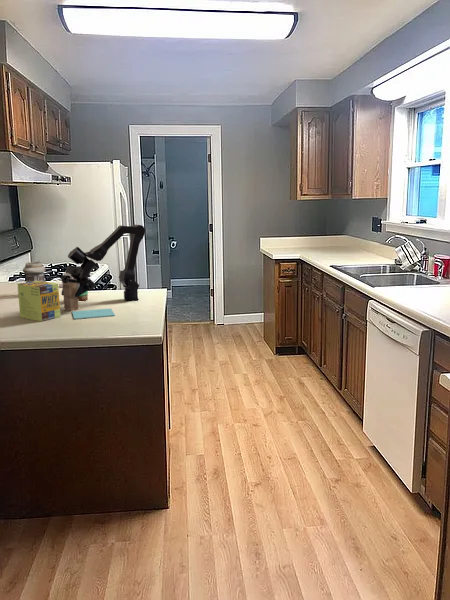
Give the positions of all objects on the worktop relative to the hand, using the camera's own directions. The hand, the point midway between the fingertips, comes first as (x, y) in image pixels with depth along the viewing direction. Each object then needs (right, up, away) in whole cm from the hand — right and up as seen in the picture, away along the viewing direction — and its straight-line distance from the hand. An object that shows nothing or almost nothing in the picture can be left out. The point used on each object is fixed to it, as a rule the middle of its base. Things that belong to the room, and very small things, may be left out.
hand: (68, 295), depth 241 cm
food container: (0, -2, +23) cm, 23 cm away
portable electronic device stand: (-19, +6, +62) cm, 65 cm away
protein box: (-9, -10, -11) cm, 18 cm away
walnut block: (+1, -7, +2) cm, 7 cm away
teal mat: (+13, -9, -7) cm, 17 cm away
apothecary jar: (-30, +1, +39) cm, 49 cm away
